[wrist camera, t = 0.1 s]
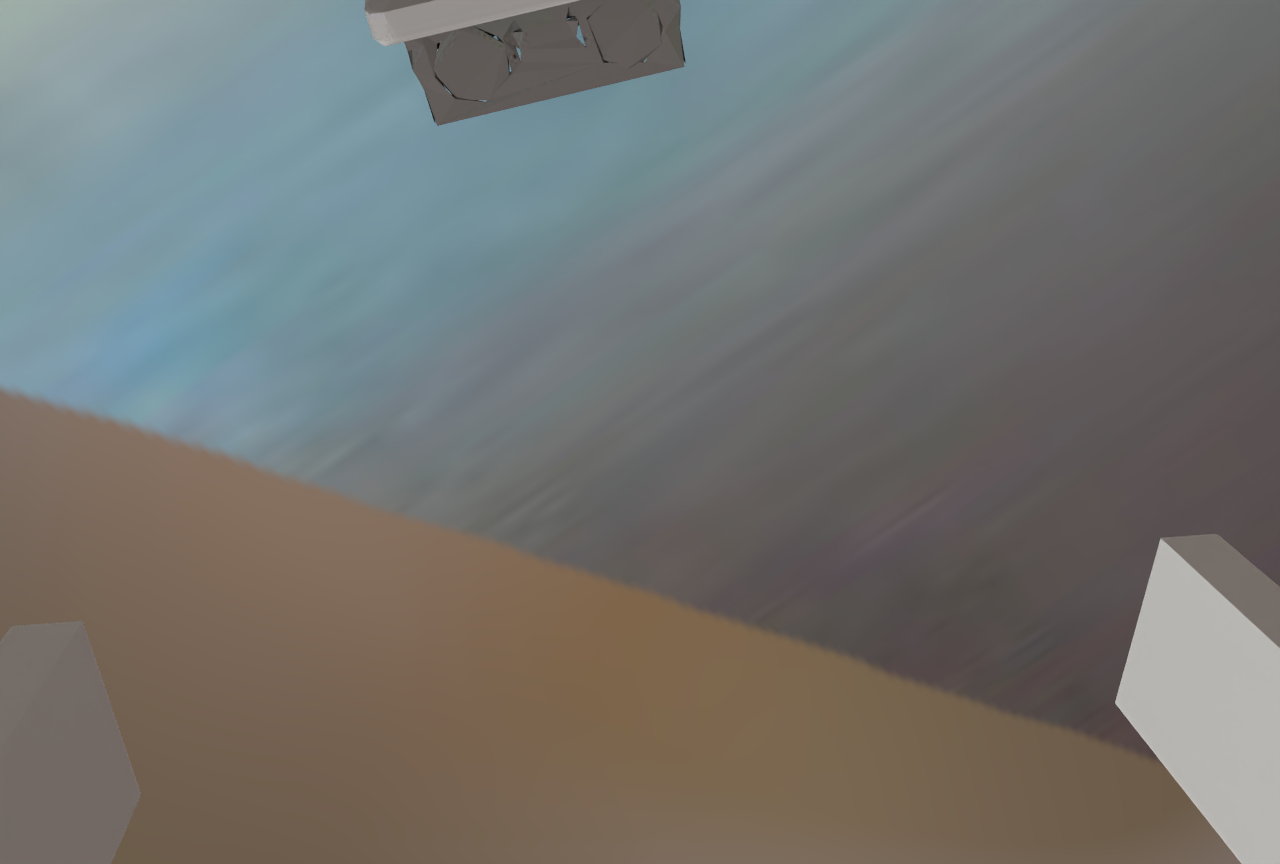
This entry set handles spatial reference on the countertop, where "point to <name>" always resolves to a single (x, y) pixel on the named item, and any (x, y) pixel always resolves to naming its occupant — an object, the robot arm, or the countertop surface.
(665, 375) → the countertop surface
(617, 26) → the electrical switch
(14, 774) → the robot arm
